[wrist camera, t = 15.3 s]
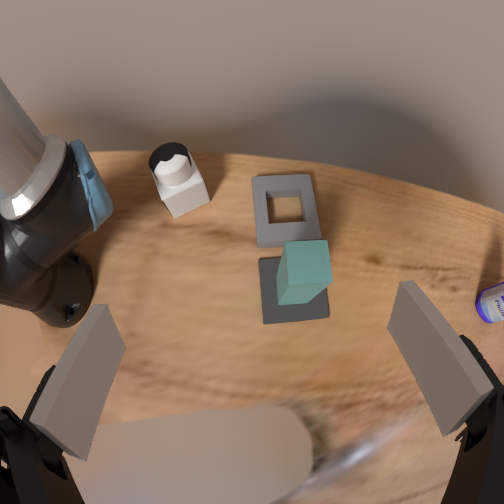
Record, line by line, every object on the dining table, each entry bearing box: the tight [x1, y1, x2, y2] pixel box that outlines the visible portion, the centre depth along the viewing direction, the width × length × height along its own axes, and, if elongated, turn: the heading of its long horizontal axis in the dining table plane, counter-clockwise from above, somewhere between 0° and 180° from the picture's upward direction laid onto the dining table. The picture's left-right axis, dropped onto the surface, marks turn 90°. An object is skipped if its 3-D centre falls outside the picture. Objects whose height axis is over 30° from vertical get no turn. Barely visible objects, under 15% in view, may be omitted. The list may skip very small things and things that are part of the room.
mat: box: [258, 258, 329, 324], centre depth 41 cm, size 10×10×1 cm
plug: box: [276, 240, 333, 305], centre depth 34 cm, size 4×4×15 cm
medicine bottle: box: [149, 142, 210, 219], centre depth 42 cm, size 7×7×12 cm
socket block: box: [252, 174, 322, 248], centre depth 44 cm, size 10×12×2 cm
